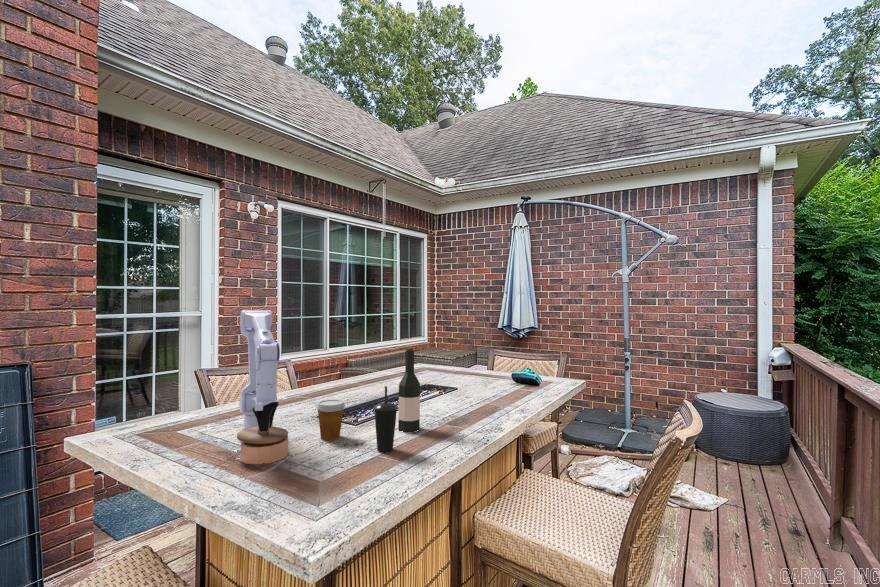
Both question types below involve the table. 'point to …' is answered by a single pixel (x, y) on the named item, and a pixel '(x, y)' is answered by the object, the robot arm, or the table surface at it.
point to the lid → (262, 435)
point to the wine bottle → (409, 397)
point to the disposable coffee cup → (330, 418)
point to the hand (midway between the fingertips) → (265, 429)
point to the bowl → (263, 452)
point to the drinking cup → (385, 424)
